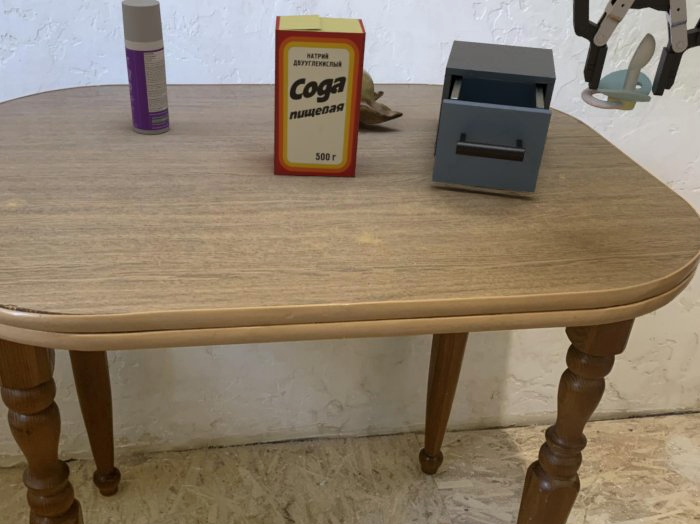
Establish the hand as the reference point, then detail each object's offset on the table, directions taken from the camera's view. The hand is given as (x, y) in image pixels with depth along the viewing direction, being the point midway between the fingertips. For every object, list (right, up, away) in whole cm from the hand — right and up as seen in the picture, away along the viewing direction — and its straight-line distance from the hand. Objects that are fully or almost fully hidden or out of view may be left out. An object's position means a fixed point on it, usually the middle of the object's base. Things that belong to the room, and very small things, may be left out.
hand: (624, 89), depth 70 cm
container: (-49, +7, +31) cm, 58 cm away
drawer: (-8, -2, +20) cm, 22 cm away
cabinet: (-6, +5, +31) cm, 32 cm away
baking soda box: (-28, -1, +22) cm, 36 cm away
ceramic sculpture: (-25, +9, +36) cm, 44 cm away
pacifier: (-1, -1, +1) cm, 2 cm away
